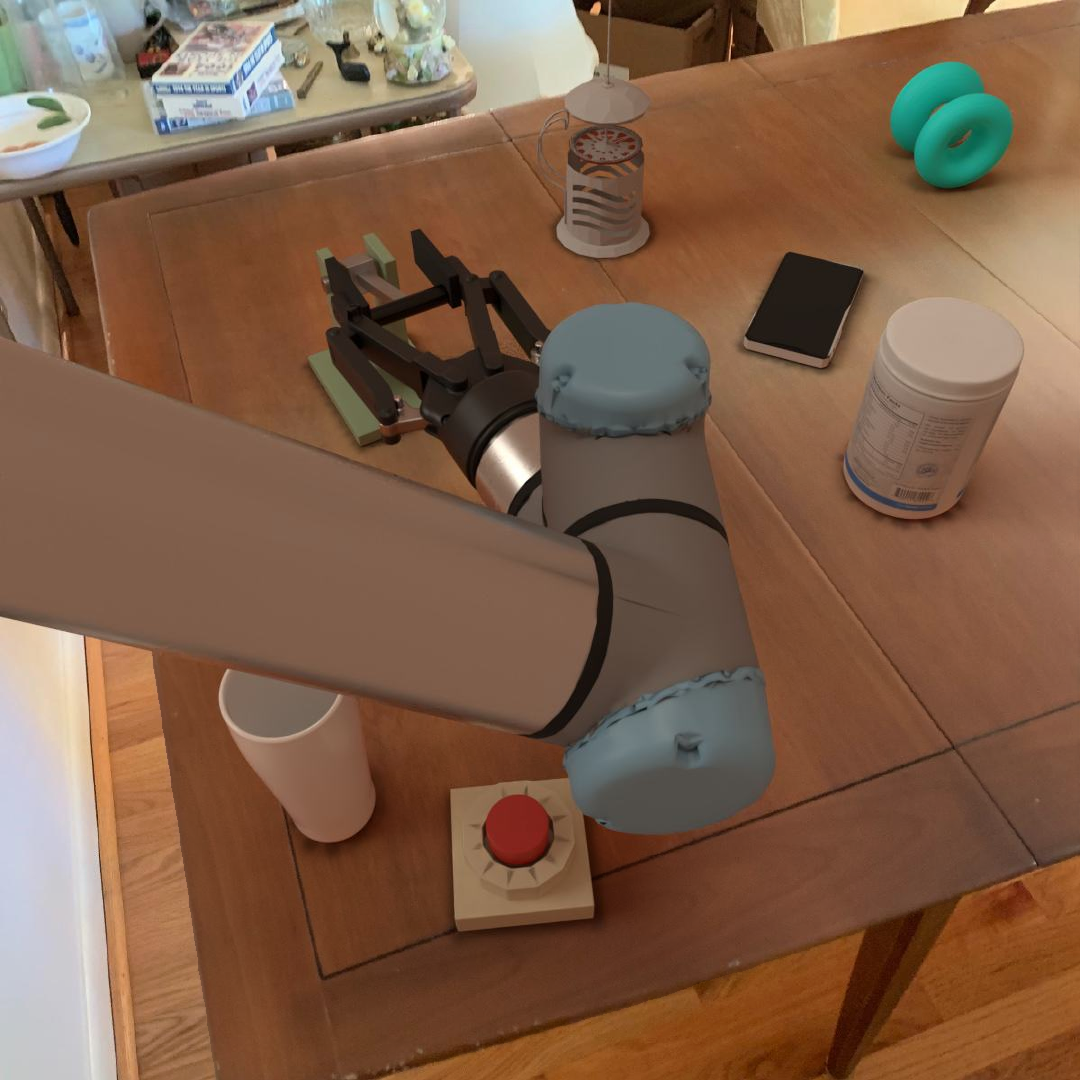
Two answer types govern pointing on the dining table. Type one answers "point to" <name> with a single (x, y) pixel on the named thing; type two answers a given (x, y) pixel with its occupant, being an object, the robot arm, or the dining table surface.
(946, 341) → the supplement tub
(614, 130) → the french press
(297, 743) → the drinking glass
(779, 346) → the smartphone
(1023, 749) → the dining table surface
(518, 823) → the button
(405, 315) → the lever
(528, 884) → the button box
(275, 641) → the robot arm
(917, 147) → the donuts
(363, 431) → the bracket
